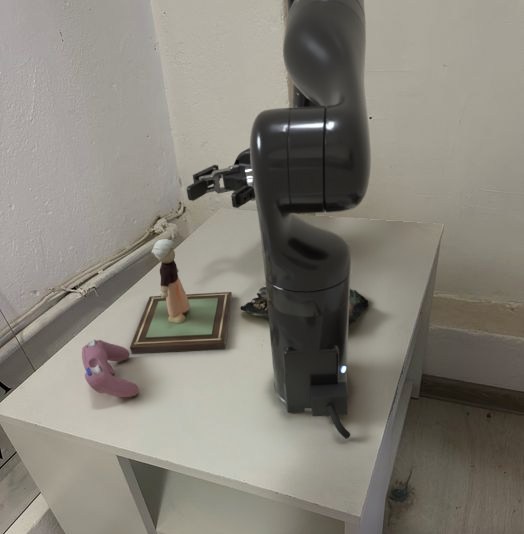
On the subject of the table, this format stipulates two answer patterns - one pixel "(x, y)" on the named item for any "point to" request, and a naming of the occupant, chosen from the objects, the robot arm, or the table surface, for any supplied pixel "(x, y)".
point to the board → (184, 325)
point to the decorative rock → (261, 309)
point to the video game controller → (106, 369)
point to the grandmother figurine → (171, 281)
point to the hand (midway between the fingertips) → (210, 197)
